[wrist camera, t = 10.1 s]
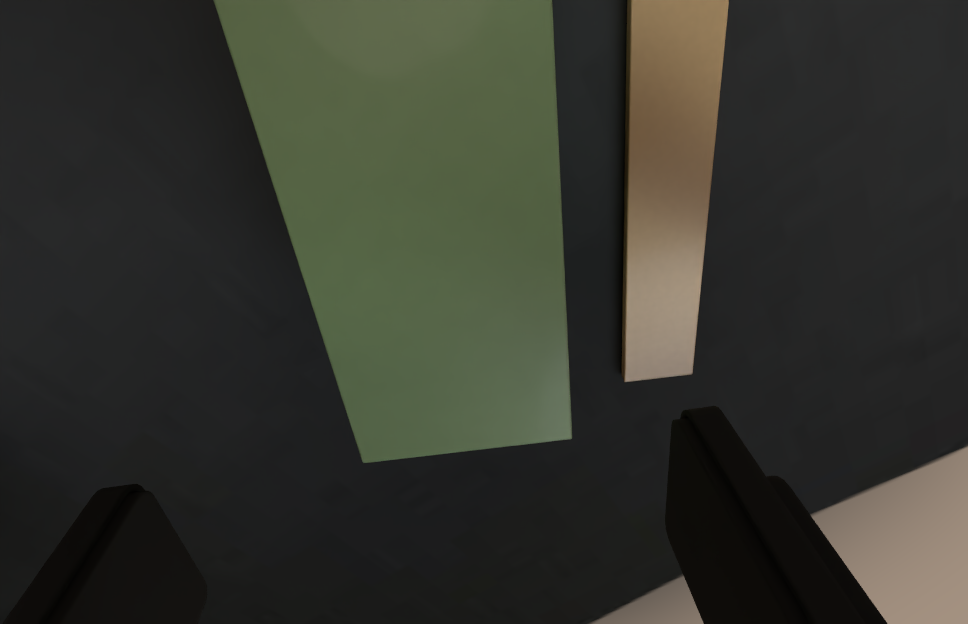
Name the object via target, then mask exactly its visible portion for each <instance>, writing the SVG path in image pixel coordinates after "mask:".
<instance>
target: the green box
mask: <svg viewBox="0 0 968 624" xmlns="http://www.w3.org/2000/svg"><path fill="white" fill-rule="evenodd" d="M214 3H215V6H216V9H217V12H218V16H219V19H220V22H221V25H222V28H223V31H224V34H225V37H226V40H227V43H228V46H229V50H230V53H231V56H232V59H233V62H234V65H235V68H236V71H237V74H238V77H239V81H240V84H241V87H242V90H243V93H244V96H245V99H246V102H247V105H248V108H249V112H250V115H251V118H252V121H253V124H254V127H255V130H256V133H257V136H258V139H259V142H260V146H261V149H262V152H263V155H264V158H265V161H266V164H267V167H268V170H269V173H270V177H271V180H272V183H273V186H274V189H275V192H276V195H277V198H278V201H279V204H280V208H281V211H282V214H283V217H284V220H285V223H286V226H287V229H288V232H289V235H290V239H291V242H292V245H293V248H294V251H295V254H296V257H297V260H298V263H299V266H300V269H301V273H302V276H303V279H304V282H305V285H306V288H307V291H308V294H309V297H310V300H311V304H312V307H313V310H314V313H315V316H316V319H317V322H318V325H319V328H320V331H321V335H322V338H323V341H324V344H325V347H326V350H327V353H328V356H329V359H330V362H331V366H332V369H333V372H334V375H335V378H336V381H337V384H338V387H339V390H340V393H341V396H342V400H343V403H344V406H345V409H346V412H347V415H348V418H349V421H350V424H351V427H352V431H353V434H354V437H355V440H356V443H357V446H358V449H359V452H360V455H361V458H362V461H363V463H368V462H377V461H385V460H394V459H403V458H411V457H420V456H428V455H437V454H445V453H454V452H463V451H471V450H480V449H488V448H497V447H505V446H514V445H523V444H531V443H540V442H548V441H557V440H565V439H571V438H572V424H571V402H570V381H569V359H568V337H567V315H566V294H565V272H564V250H563V229H562V207H561V185H560V164H559V142H558V120H557V99H556V77H555V55H554V34H553V12H552V0H214Z"/></svg>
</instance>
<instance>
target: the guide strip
mask: <svg viewBox="0 0 968 624" xmlns="http://www.w3.org/2000/svg"><path fill="white" fill-rule="evenodd" d="M728 4H729V0H627V51H626V118H625V185H624V252H623V319H622V378H623V380H624V382H630V381H638V380H647V379H655V378H663V377H672V376H680V375H689V374H692V372H693V361H694V351H695V341H696V331H697V321H698V310H699V300H700V290H701V280H702V270H703V259H704V249H705V239H706V229H707V219H708V208H709V198H710V188H711V178H712V168H713V157H714V147H715V137H716V127H717V116H718V106H719V96H720V86H721V76H722V65H723V55H724V45H725V35H726V25H727V14H728Z"/></svg>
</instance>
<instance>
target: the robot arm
mask: <svg viewBox="0 0 968 624" xmlns="http://www.w3.org/2000/svg"><path fill="white" fill-rule="evenodd" d="M665 525H666V531H667V535H668V538H669V541H670V544H671V546H672V549H673V551H674V553H675V556H676V558H677V560H678V563H679V565H680V568H681V570H682V572H683V575H684V577H685V580H686V582H687V584H688V587H689V589H690V591H691V594H692V596H693V599H694V601H695V604H696V606H697V608H698V611H699V613H700V616H701V618H702V620H703V623H704V624H887V622H886V621H885V620H884V618H883V617H882V615H881V614H880V613H879V611H878V610H877V608H876V607H875V606H874V604H873V603H872V602H871V600H870V599H869V597H868V596H867V594H866V593H865V591H864V590H863V589H862V587H861V586H860V584H859V583H858V582H857V580H856V579H855V578H854V576H853V575H852V574H851V572H850V571H849V569H848V568H847V566H846V565H845V563H844V562H843V561H842V559H841V558H840V556H839V555H838V554H837V552H836V551H835V549H834V548H833V547H832V545H831V544H830V542H829V541H828V540H827V538H826V537H825V535H824V534H823V533H822V531H821V530H820V528H819V527H818V525H817V524H816V523H815V521H814V520H813V519H812V517H811V516H810V514H809V513H808V511H807V510H806V509H805V507H804V506H803V504H802V503H801V502H800V500H799V499H798V497H797V496H796V495H795V493H794V492H793V490H792V489H791V488H790V486H789V485H788V484H787V483H786V482H785V481H784V480H783V479H781V478H780V477H778V476H767V477H766V476H765V474H764V473H763V471H762V470H761V469H760V467H759V466H758V464H757V463H756V461H755V460H754V458H753V457H752V455H751V454H750V452H749V451H748V449H747V448H746V446H745V445H744V443H743V442H742V440H741V439H740V438H739V436H738V435H737V433H736V432H735V430H734V429H733V427H732V426H731V424H730V423H729V421H728V420H727V418H726V417H725V415H724V414H723V412H722V411H721V410H720V409H719V408H718V407H716V406H711V407H704V408H696V409H689V410H684V411H683V412H682V413H681V419H677V420H673V422H672V427H671V441H670V456H669V471H668V485H667V500H666V514H665ZM206 598H207V585H206V582H205V580H204V578H203V577H202V575H201V573H200V572H199V570H198V568H197V567H196V565H195V563H194V562H193V560H192V558H191V557H190V555H189V553H188V552H187V550H186V548H185V547H184V545H183V543H182V542H181V540H180V538H179V537H178V535H177V533H176V532H175V530H174V528H173V527H172V525H171V523H170V522H169V520H168V518H167V517H166V515H165V513H164V512H163V510H162V508H161V507H160V505H159V503H158V502H157V500H156V498H155V497H154V495H153V494H152V493H151V492H149V491H145V490H144V489H143V487H142V486H140V485H138V484H132V485H124V486H117V487H109V488H102V489H100V490H99V491H97V492H96V493H95V494H94V495H93V496H92V498H91V499H90V501H89V502H88V503H87V505H86V506H85V508H84V509H83V510H82V512H81V513H80V515H79V516H78V518H77V519H76V520H75V522H74V523H73V525H72V526H71V527H70V529H69V530H68V532H67V533H66V535H65V536H64V537H63V539H62V540H61V542H60V543H59V544H58V546H57V547H56V549H55V550H54V552H53V553H52V554H51V556H50V557H49V559H48V560H47V561H46V563H45V564H44V566H43V567H42V569H41V570H40V571H39V573H38V574H37V576H36V577H35V578H34V580H33V581H32V583H31V584H30V586H29V587H28V588H27V590H26V591H25V593H24V594H23V595H22V597H21V598H20V600H19V601H18V603H17V604H16V605H15V607H14V608H13V610H12V611H11V612H10V614H9V615H8V617H7V618H6V620H5V621H4V622H3V624H197V623H198V621H199V618H200V616H201V613H202V611H203V608H204V605H205V602H206Z"/></svg>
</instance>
